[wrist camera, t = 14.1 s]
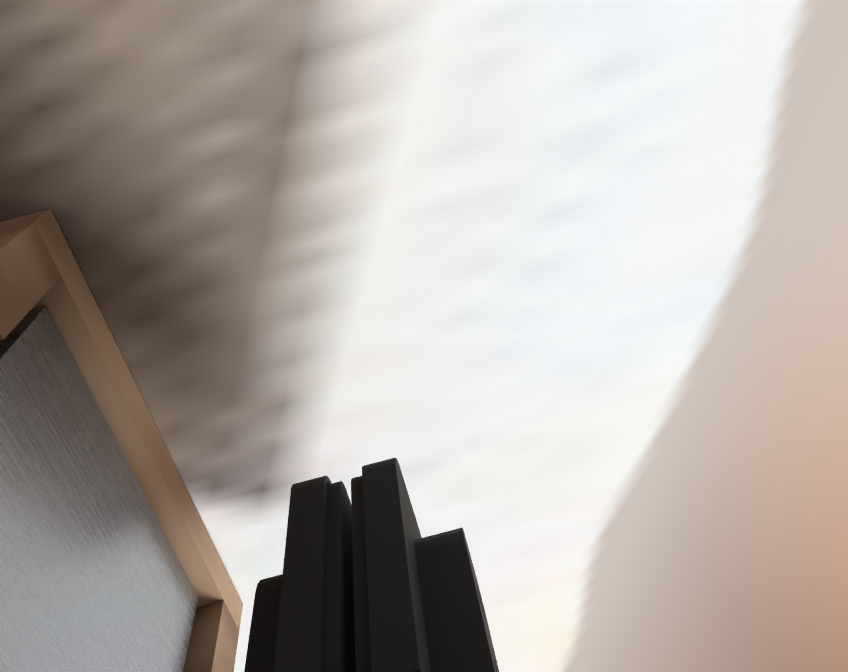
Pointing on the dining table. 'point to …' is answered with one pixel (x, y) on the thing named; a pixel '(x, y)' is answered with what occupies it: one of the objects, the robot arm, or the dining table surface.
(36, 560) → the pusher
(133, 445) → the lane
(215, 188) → the dining table surface
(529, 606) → the dining table surface
